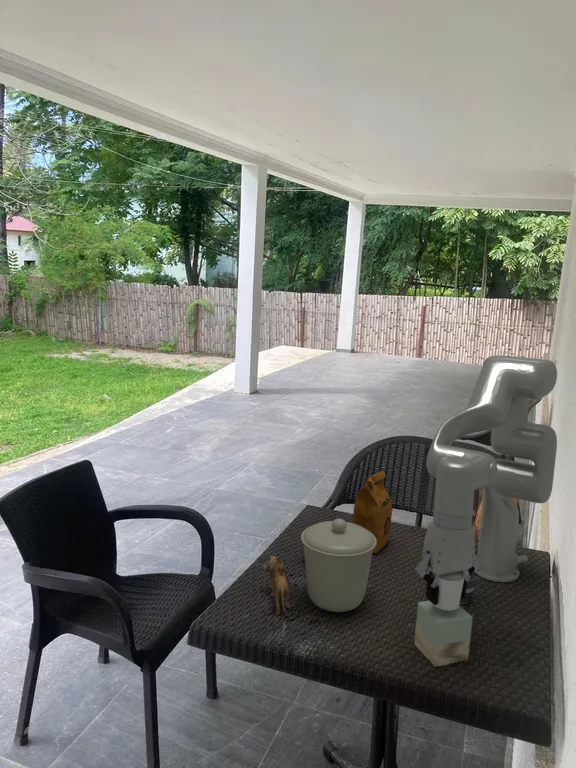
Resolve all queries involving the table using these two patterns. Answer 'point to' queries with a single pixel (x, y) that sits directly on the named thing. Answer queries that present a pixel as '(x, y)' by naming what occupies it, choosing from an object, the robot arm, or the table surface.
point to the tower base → (441, 649)
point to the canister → (337, 563)
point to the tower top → (444, 623)
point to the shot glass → (450, 590)
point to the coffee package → (374, 510)
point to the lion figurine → (278, 582)
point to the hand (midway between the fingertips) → (445, 598)
